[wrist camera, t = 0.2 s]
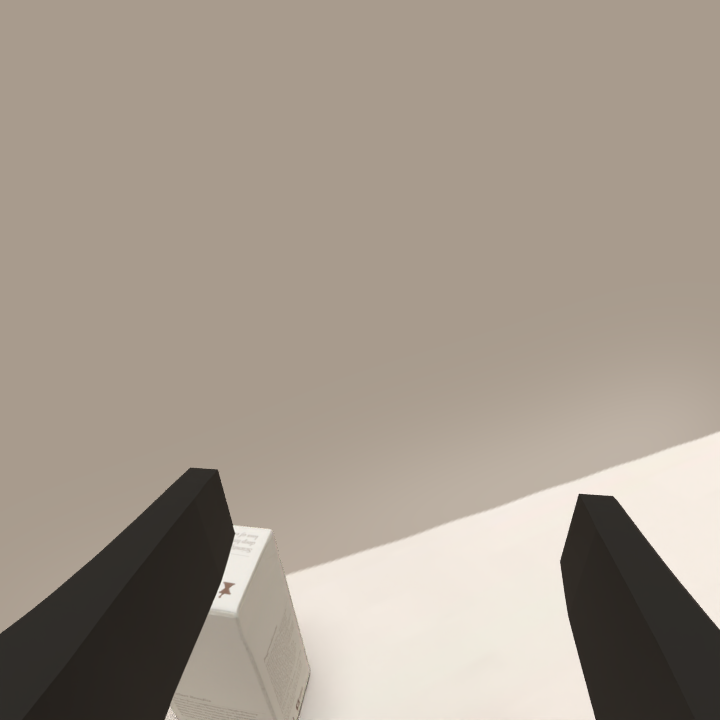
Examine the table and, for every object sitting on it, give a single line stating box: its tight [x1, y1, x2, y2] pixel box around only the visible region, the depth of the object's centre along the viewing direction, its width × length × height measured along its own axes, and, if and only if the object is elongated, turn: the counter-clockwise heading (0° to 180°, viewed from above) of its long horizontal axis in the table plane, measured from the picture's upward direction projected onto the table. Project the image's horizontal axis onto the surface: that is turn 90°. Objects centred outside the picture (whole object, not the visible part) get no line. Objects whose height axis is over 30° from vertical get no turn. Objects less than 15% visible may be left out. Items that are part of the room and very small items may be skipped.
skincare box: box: [170, 525, 310, 720], centre depth 24 cm, size 6×4×12 cm
